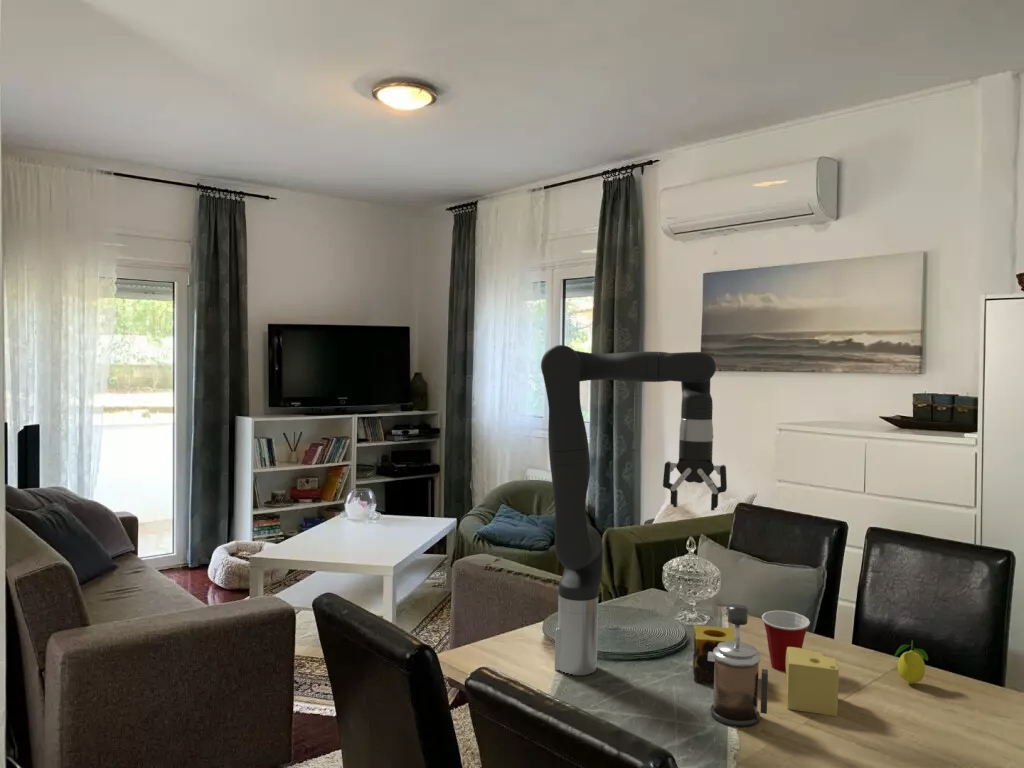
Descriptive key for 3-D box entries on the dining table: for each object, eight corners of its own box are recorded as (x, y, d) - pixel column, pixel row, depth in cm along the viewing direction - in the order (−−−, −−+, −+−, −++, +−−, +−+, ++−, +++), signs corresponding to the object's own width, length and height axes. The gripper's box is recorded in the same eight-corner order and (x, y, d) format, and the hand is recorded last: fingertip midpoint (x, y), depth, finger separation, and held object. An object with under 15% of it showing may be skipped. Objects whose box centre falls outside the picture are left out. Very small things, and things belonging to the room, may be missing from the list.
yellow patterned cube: (740, 687, 174) (741, 643, 174) (693, 683, 176) (694, 639, 176) (736, 670, 184) (738, 628, 184) (692, 666, 186) (693, 624, 186)
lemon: (893, 685, 177) (894, 641, 176) (894, 676, 182) (895, 634, 182) (927, 692, 174) (928, 647, 173) (927, 682, 179) (928, 639, 178)
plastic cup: (757, 671, 183) (759, 620, 183) (762, 656, 193) (763, 607, 193) (807, 680, 179) (808, 628, 179) (809, 663, 189) (811, 614, 188)
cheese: (835, 697, 170) (837, 652, 170) (839, 719, 160) (840, 670, 159) (784, 690, 173) (786, 645, 173) (784, 710, 163) (786, 662, 163)
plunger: (716, 654, 157) (717, 610, 157) (718, 642, 164) (719, 599, 164) (756, 659, 154) (757, 614, 154) (756, 646, 162) (757, 603, 161)
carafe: (704, 722, 157) (706, 657, 156) (708, 702, 166) (709, 641, 166) (766, 731, 153) (768, 665, 153) (766, 711, 162) (768, 648, 162)
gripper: (662, 438, 180) (660, 508, 180) (727, 441, 176) (724, 513, 176) (666, 435, 187) (665, 503, 188) (728, 438, 183) (726, 508, 183)
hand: (694, 508), depth 182 cm, fingers open, 8 cm apart
